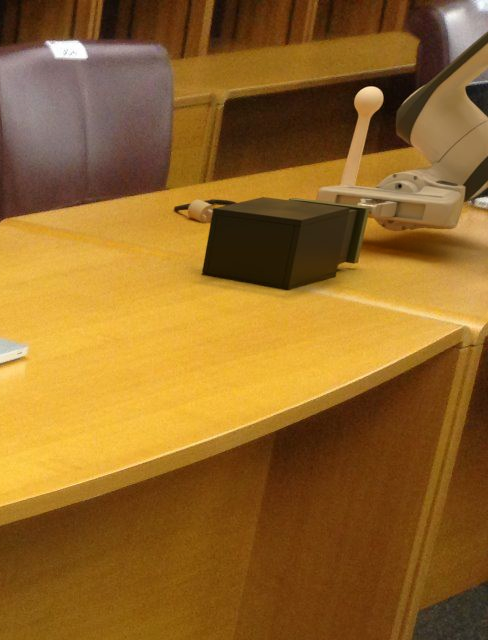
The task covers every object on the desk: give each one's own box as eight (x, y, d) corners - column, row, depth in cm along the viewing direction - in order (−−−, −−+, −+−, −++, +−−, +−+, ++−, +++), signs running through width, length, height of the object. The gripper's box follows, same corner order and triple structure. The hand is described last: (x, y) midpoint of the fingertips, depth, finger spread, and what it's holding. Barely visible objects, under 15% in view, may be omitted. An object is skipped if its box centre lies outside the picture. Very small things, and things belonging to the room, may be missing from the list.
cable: (147, 206, 265) (151, 186, 264) (229, 205, 269) (233, 185, 267) (200, 225, 252) (204, 204, 250) (285, 223, 256) (290, 202, 254)
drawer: (295, 247, 232) (305, 194, 228) (370, 258, 224) (383, 203, 221) (237, 263, 221) (248, 208, 218) (315, 275, 213) (327, 218, 210)
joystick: (326, 200, 274) (355, 82, 265) (371, 204, 272) (402, 85, 262) (330, 211, 265) (360, 89, 255) (377, 215, 262) (410, 92, 253)
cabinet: (250, 264, 225) (263, 196, 221) (335, 277, 217) (350, 207, 212) (200, 278, 216) (213, 208, 212) (287, 292, 208) (301, 220, 204)
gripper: (342, 172, 244) (302, 181, 236) (477, 186, 230) (439, 196, 222) (333, 213, 247) (293, 223, 239) (466, 229, 233) (429, 240, 225)
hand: (365, 210), depth 230 cm, fingers closed
